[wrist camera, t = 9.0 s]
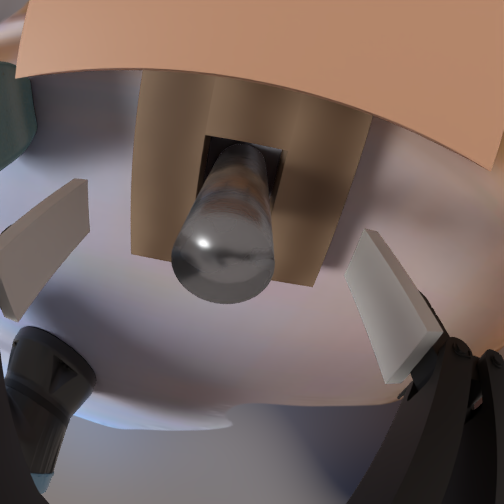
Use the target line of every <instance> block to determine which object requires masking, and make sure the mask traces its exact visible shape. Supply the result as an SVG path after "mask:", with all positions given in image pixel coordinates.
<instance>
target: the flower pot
mask: <svg viewBox="0 0 504 504" xmlns="http://www.w3.org/2000/svg"><path fill="white" fill-rule="evenodd" d="M15 75H16V65H14V64H11V63H8V62H1V61H0V171H1V170H2V169H4V168H5V167H6V166H8V165H9V164H10V163H12V162H13V161H14V160H16V159H17V158H18V157H19V156H20V155H22V154H23V152H24V151H25V150H26V149H27V148H28V147H29V145H30V144H31V142H32V140H33V138H34V136H35V133H36V130H37V122H36V117H35V111H34V105H33V99H32V91H31V83H30V80H29V78H28V77H24V78H17V79H15Z"/></svg>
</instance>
